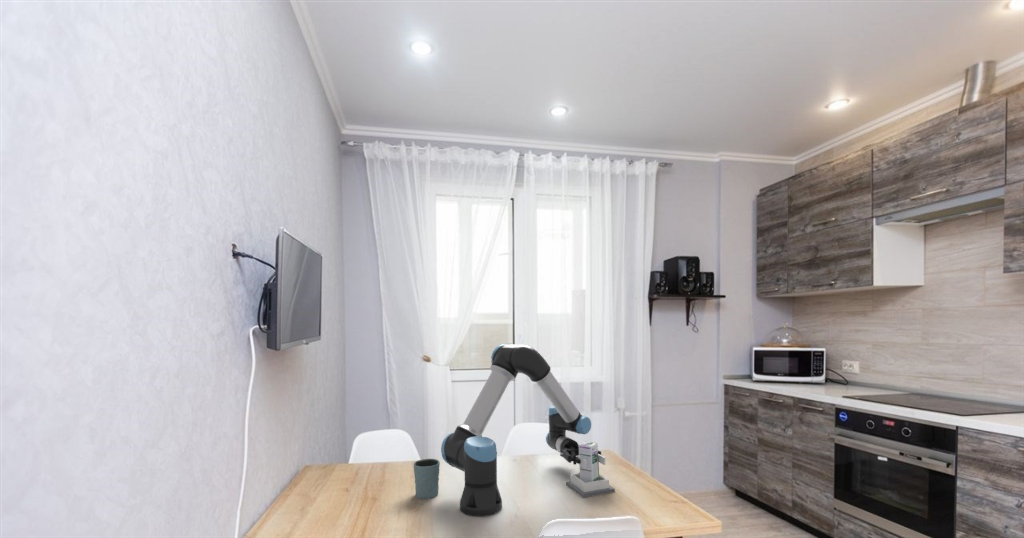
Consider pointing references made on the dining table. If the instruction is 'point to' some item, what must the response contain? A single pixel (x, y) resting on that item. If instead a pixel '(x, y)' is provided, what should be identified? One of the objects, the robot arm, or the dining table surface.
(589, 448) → the syrup box
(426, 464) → the teal cup
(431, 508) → the dining table surface
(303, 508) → the dining table surface
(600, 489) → the socket plate
